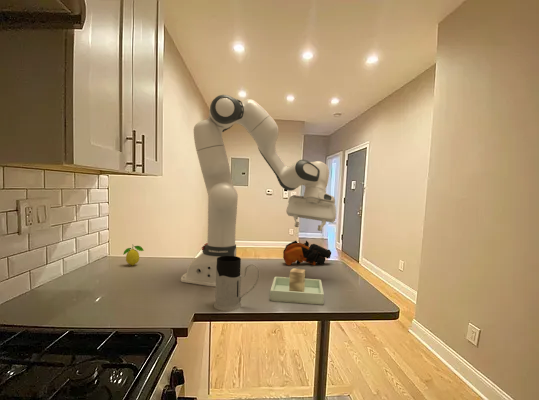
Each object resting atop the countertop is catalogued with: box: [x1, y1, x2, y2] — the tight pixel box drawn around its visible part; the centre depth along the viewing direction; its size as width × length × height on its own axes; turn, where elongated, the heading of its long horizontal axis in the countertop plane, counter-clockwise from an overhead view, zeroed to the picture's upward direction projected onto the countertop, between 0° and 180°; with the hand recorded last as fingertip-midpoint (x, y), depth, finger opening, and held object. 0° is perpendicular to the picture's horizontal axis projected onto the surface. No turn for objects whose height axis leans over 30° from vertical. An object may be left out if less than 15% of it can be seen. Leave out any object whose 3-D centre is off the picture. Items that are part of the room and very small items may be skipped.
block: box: [289, 267, 306, 292], centre depth 107 cm, size 4×4×8 cm
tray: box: [269, 276, 325, 306], centre depth 107 cm, size 18×16×4 cm
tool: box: [282, 240, 332, 267], centre depth 149 cm, size 8×23×15 cm, turn 99°
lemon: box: [123, 245, 145, 267], centre depth 137 cm, size 7×6×10 cm
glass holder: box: [213, 255, 260, 312], centre depth 95 cm, size 9×14×15 cm, turn 82°
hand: (307, 228), depth 121 cm, fingers open, 8 cm apart
